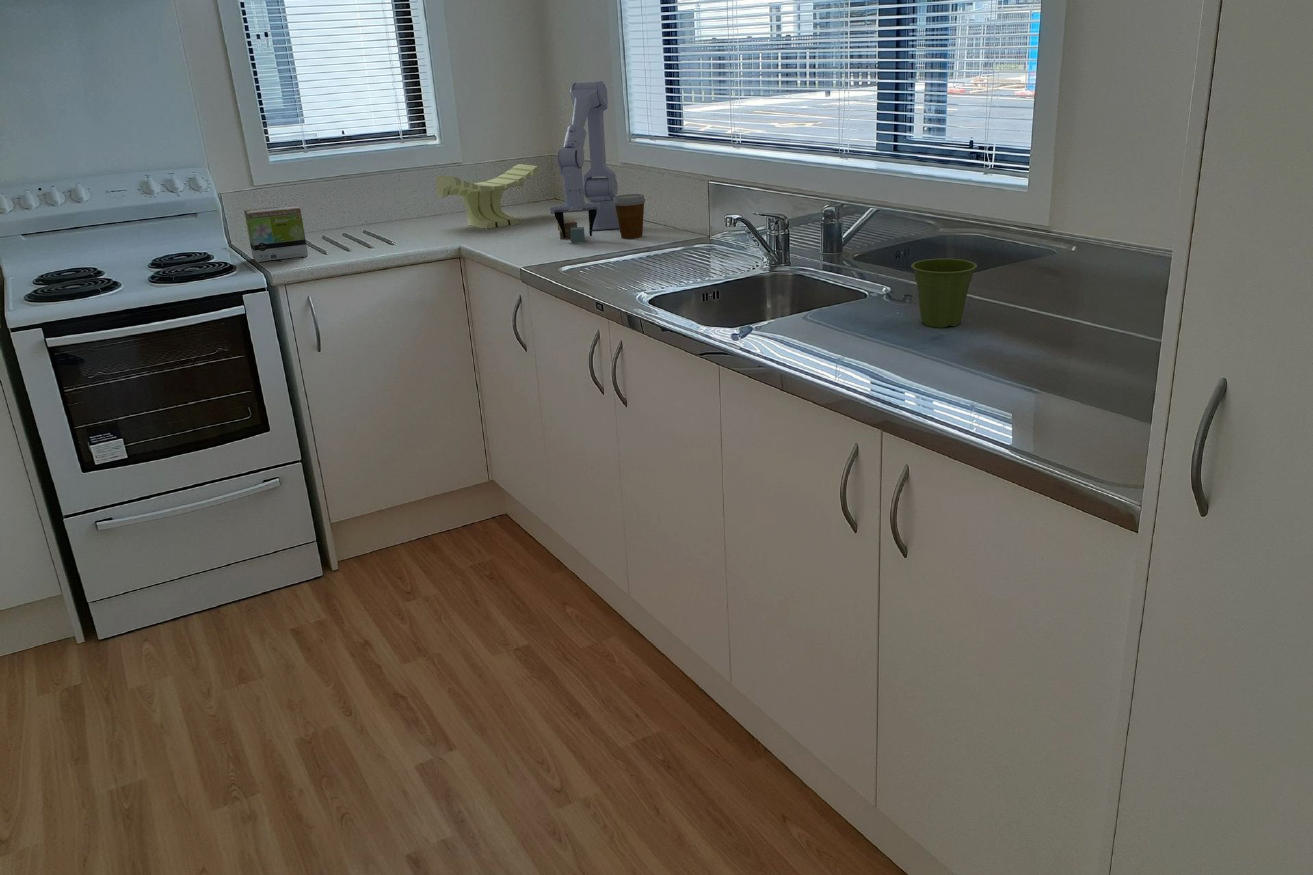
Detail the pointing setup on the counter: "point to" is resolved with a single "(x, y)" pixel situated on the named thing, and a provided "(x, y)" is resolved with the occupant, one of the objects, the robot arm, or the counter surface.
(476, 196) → the slatted curved stool
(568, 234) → the bottom slab
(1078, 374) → the counter surface
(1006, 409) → the counter surface
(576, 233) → the cube
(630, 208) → the disposable coffee cup
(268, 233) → the tea box
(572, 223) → the top slab
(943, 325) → the plant pot
